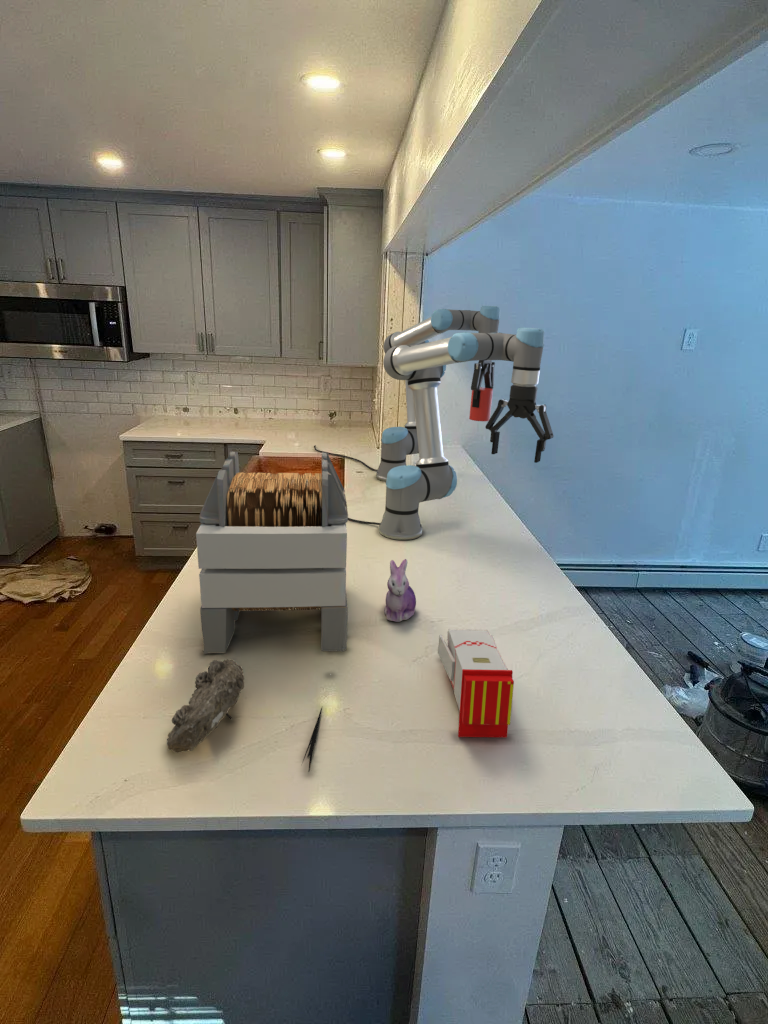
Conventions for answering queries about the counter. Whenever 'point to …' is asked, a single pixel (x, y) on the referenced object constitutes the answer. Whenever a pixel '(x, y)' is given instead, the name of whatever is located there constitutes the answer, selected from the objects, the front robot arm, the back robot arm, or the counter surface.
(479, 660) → the toy
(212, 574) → the record crate
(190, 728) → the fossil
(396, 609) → the figurine
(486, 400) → the can
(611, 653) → the counter surface
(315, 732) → the feather
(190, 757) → the counter surface
